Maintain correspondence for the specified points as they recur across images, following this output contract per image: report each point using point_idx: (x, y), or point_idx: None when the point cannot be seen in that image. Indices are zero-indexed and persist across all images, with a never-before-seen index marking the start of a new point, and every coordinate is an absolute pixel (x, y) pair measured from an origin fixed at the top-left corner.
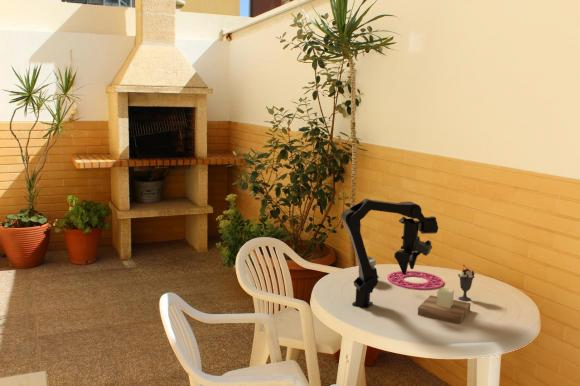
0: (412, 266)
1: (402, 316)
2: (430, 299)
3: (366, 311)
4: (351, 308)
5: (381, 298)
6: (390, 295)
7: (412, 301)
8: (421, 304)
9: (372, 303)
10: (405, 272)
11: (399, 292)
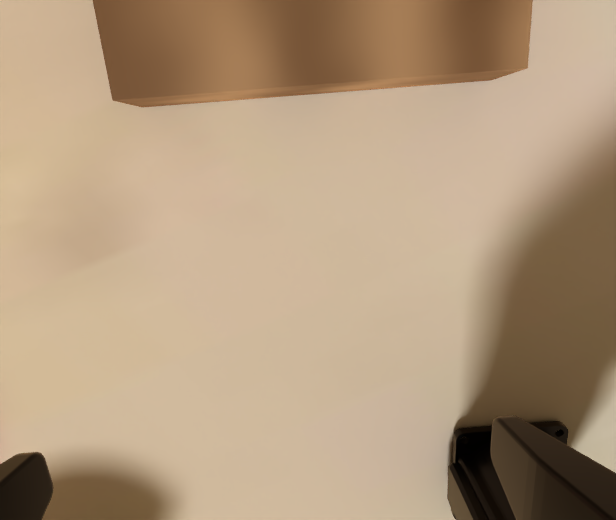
0: (5, 510)
1: (588, 167)
2: (234, 48)
3: (611, 399)
4: None
5: (320, 428)
6: (221, 409)
7: (227, 236)
8: (434, 70)
9: (466, 429)
10: (566, 452)
11: (114, 388)
